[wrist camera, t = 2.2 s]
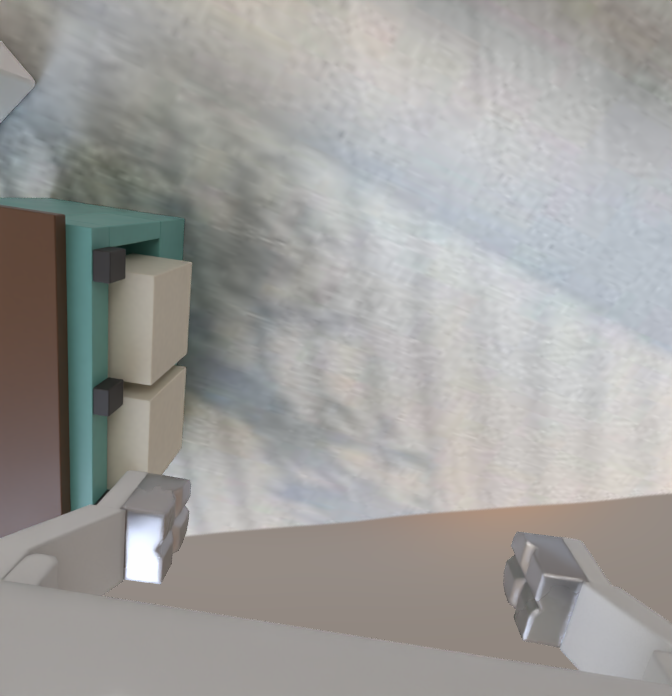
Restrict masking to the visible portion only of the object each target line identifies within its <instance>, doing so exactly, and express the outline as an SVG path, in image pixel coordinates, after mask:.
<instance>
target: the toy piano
mask: <svg viewBox="0 0 672 696" xmlns="http://www.w3.org/2000/svg"><path fill="white" fill-rule="evenodd" d="M184 222H185V219H184V218H179V217H172V216H165V215H158V214H152V213H145V212H138V211H132V210H125V209H118V208H112V207H105V206H98V205H92V204H85V203H78V202H72V201H65V200H58V199H52V198H0V538H2V537H5V536H7V535H10V534H13V533H15V532H18V531H21V530H23V529H26V528H29V527H31V526H34V525H37V524H39V523H42V522H45V521H47V520H50V519H53V518H55V517H58V516H61V515H63V514H66V513H69V512H71V511H74V510H77V509H79V508H82V507H85V506H87V505H90V504H91V505H97V504H98V503H99V502H100V501H101V500H102V498H103V497H104V496H105V495H106V494H107V493H108V492H109V491H110V489H107V417H108V416H110V415H111V414H113V413H114V412H115V411H116V410H117V409H118V408H120V407H121V406H122V405H123V379H117V378H110V377H108V284H111V283H114V282H117V281H120V280H123V279H125V268H126V255H128V254H132V253H135V254H142V255H148V256H155V257H162V258H168V259H175V260H182V261H183V241H184ZM175 365H177V363H176V364H175Z"/></svg>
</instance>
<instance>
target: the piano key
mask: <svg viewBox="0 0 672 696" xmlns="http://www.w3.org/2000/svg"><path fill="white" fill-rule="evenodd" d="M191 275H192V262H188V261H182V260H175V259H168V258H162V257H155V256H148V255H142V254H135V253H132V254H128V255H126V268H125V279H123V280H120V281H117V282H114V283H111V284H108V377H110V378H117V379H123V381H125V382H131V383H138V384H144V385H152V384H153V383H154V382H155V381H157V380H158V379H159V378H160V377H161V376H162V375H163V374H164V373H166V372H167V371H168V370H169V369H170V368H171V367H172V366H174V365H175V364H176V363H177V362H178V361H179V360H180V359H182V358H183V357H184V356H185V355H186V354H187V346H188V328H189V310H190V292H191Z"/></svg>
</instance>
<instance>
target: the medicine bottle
mask: <svg viewBox="0 0 672 696" xmlns="http://www.w3.org/2000/svg"><path fill="white" fill-rule="evenodd" d="M34 86H35V81H34V79H33V78H32V76H31V75H30V74H29V73H28V72H27V71H26V69H25V68H24V67H23V66H22V65H21V64H20V62H19V61H18V60H17V59H16V58H15V57H14V55H13V54H12V53H11V52H10V51H9V50H8V48H7V47H6V46H5V45H4V44H3V42H2V41H1V40H0V123H1V122H2V121H3V120H4V119H5V118H6V117H7V116H8V114H9V113H10V112H11V111H12V110H13V109H14V108H15V107H16V106H17V105H18V104H19V103H20V102H21V101H22V100H23V98H24V97H25V96H26V95H27V94H28V93H29V92H30V91H31V90H32V89H33V88H34Z"/></svg>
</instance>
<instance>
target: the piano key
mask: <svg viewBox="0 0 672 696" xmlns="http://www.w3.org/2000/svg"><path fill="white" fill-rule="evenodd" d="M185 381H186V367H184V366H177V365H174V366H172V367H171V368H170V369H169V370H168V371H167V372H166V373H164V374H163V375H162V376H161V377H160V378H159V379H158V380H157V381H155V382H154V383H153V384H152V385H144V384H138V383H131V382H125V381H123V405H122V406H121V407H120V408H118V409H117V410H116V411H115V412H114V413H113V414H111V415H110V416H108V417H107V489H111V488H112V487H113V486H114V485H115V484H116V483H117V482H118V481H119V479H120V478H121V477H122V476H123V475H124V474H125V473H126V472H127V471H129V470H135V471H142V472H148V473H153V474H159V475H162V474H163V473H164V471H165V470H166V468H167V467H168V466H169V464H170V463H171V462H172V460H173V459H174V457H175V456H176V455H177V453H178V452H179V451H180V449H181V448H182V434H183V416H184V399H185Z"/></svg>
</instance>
